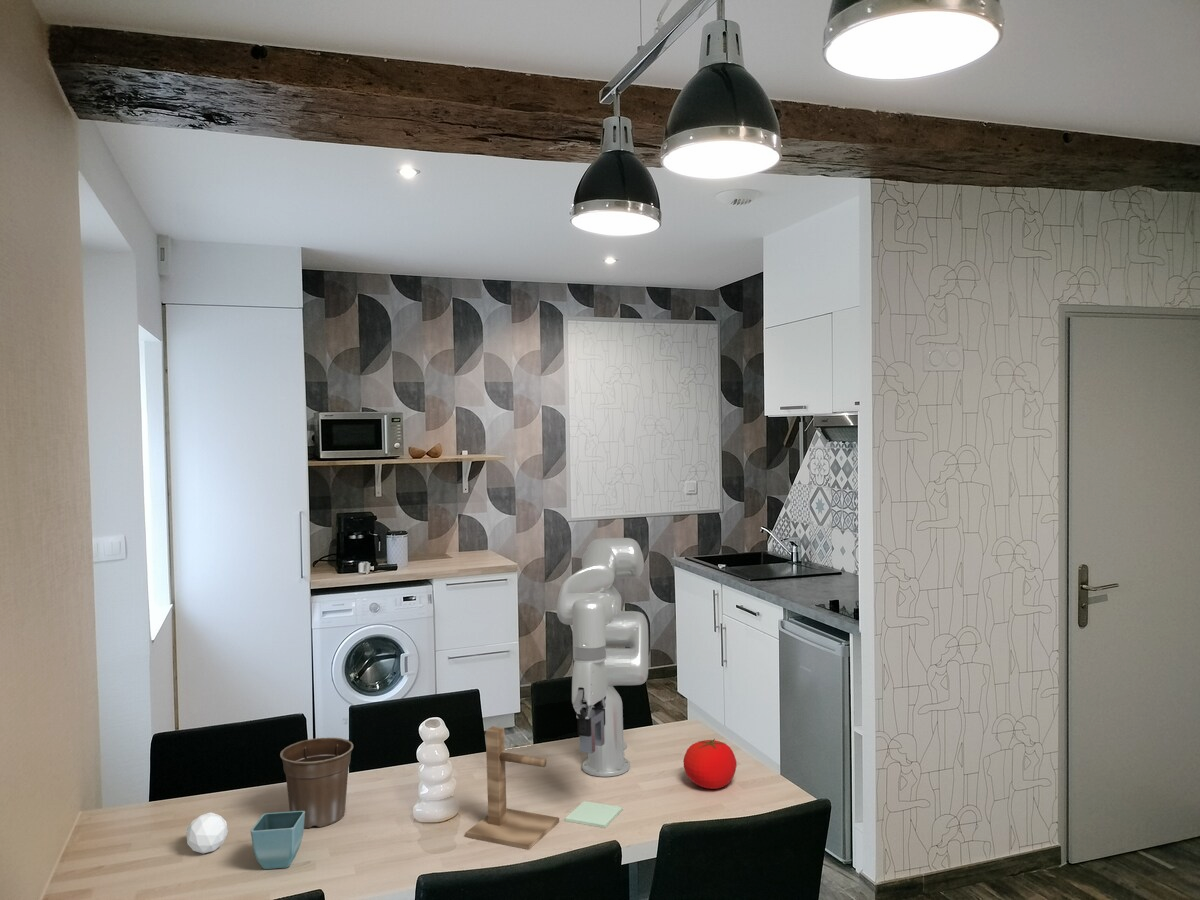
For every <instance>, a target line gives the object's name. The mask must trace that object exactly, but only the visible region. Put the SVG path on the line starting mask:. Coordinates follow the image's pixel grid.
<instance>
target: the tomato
mask: <svg viewBox="0 0 1200 900" xmlns="http://www.w3.org/2000/svg"><path fill="white" fill-rule="evenodd" d="M737 764H738V763H737V759H736V755H735V753H734V751H733V750H732V748H731V747H730V746H729V745H728V744H727V743H726V742H722V741H720V740H715V738H714V739H706V740H705V739H704V740H700V741H699V740H698V741H697V742H695V743H693V744H690V746H689V747H688V748H687V749H686V752H685V753H684V757H683V768H684V772H685V774H686V776H687V777H688V779H690V780H691V781H692V782H693V783H694V784H695V785H697V786H699V787H701V788H705V789H711V790H712V789H713V790H715V789H720V788H723V787H725V786H726V785H728V784H729V783H731V781H732V779H733V777H734V776H735V773H736V769H737Z"/></svg>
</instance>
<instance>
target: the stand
mask: <svg viewBox="0 0 1200 900" xmlns="http://www.w3.org/2000/svg"><path fill="white" fill-rule="evenodd" d="M505 737H506V736H505V727H503V726H502V727H501V726H495V725H494V726H491V727H489V728H488V729H486V730H485V746H486V752H485V753H486V781H487V782H486V783H487V784H486V785H487V789H486V790H487V815H486V816H485V817H484V818H482V819H481V820H479V822H477V823H476V824H475V825H473V826H472V827H471V828H469V829H468V830H466V832H465V833H464V834H465V838H468V839H473V840H479V841H484V842H489V843H493V844H498V845H500V844H501V845H504V846H509V847H514V848H519V849H524V850H530V849H532V848H533V846H535V845H536V844H537V843H539V841H540V840H541V839H543V838H544V837H545V836H546V835H547V834H548V833H549V832H550V831H551V830H552V829H553V828H554V827H556V825H558V824H559V823H560V817H558V816H553V815H546V814H541V813H535V812H529V811H524V810H518V809H517V810H516V809H513V808H512V809H511V808H508V807H507V784H506V783H507V782H506V781H507V780H506V779H507V778H506V777H507V776H506V775H507V774H506V763H512V764H513V763H514V764H520V765H526V766H527V765H528V766H533V767H541V768H545V767H546V766H547V763H548V761H547V758H544V757H537V756H531V755H523V754H516V753H511V752H506V746H505V745H506V743H505V742H506V740H505Z"/></svg>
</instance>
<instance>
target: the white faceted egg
mask: <svg viewBox="0 0 1200 900" xmlns="http://www.w3.org/2000/svg"><path fill="white" fill-rule="evenodd" d="M227 823H228V822H227V821H226V820H225V819H224V817H223V816H221V815H220V814H217V813H214V812H207V813H204V814H201V815H199V816H197V817H196V818H195V819H194V820H192V821H191V823H190V825H189V826H188V827H187V830H186V843H187V846H189V847H190V849H191V850H192V851H193V852H197V853H200V854H207V853H211V852H214V851H216V850H217V849H218V848H219V847H221V846H222V845H223V844H224V841H225V840H226V839H227V836H228V833H229V832H228V825H227Z"/></svg>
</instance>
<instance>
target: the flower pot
mask: <svg viewBox="0 0 1200 900" xmlns="http://www.w3.org/2000/svg"><path fill="white" fill-rule="evenodd" d="M304 819H305V811H292V812H290V811H280V812H267V813H265V812H264V813H263V814H261V816H260V817H259V819H258V820H257V822H256V823H255V824H254V825H253V826H252V828H251V829H250V836H251V843H252V848H253V849H252V850H253V854H254V857H255V859H256V861H257V862H258V863H259V865H260V866H261V867H262V869H264V870H271V869H283V868H285V869H286V868H289V867H290V866H291V865H292V863H293V861H294V859H295V858H296V856H297V854H298V852H299V849H300V846H301V844H302V842H303V841H302V840H303V836H304V830H305V828H304Z"/></svg>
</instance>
